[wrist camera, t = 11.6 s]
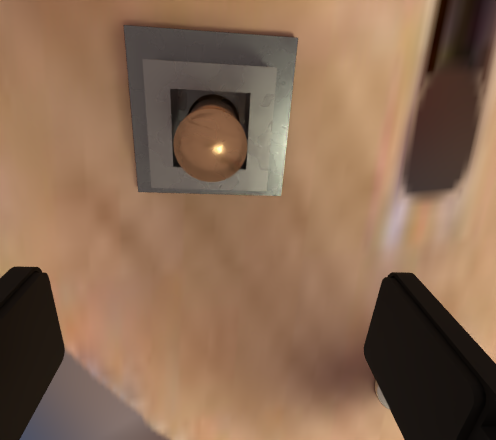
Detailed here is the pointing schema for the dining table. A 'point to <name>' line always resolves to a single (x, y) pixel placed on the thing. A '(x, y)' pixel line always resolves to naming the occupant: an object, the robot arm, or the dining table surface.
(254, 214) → the dining table surface
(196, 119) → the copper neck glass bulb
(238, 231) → the dining table surface
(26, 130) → the dining table surface
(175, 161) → the flange socket
